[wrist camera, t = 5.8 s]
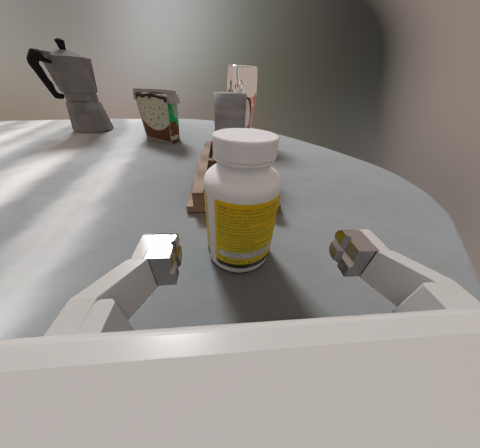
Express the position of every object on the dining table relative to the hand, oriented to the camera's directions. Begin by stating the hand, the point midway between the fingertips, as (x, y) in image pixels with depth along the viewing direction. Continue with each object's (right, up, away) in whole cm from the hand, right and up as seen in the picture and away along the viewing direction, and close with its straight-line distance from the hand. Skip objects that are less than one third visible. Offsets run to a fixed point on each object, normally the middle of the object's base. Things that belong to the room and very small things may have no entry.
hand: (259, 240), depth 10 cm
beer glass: (-1, +24, +41) cm, 47 cm away
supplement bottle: (-1, -2, +7) cm, 8 cm away
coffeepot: (-42, +26, +41) cm, 64 cm away
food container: (-19, +23, +38) cm, 48 cm away
